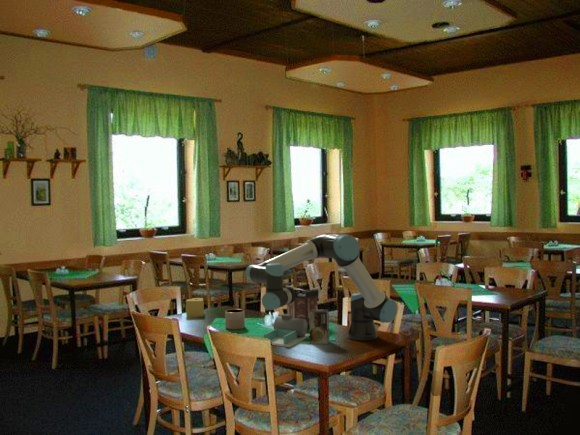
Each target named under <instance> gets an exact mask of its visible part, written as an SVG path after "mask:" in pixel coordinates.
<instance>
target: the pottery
mask: <svg viewBox="0 0 580 435" xmlns="http://www.w3.org/2000/svg"><path fill="white" fill-rule="evenodd" d="M298 292H299V293H300V291H298ZM318 296H319V295H318ZM318 296H316V297H314V296H312V297H306V298H302V297H300V298H296V299H295V301H294V302H292V303H290V304H287V305H286V314H292V318H298V319H305V320H306V321H307V329H308V327H309V328H310V322H309V312H310V311H311V309H318Z"/></svg>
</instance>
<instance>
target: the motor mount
mask: <svg viewBox="0 0 580 435" xmlns="http://www.w3.org/2000/svg"><path fill="white" fill-rule="evenodd" d="M271 327H272V328H273V329H272V330H269V331H268V332H266V333H264V334H263V339H264V338H268V339H270V340H271V342H272V345H271V346H275V347H277V346H278V347H286V348H291V347H294V346H295V345H297V344H298V343H300V342H303V341H304V340H306V339H308V338H310V337H309V336H310V333H307V332H308V328H307V321H306V320H305V319H298V318H292V314H287V313H284V314H281V316H277V317H276V318H275V319H274V322H272V323H271Z"/></svg>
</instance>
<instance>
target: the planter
mask: <svg viewBox="0 0 580 435" xmlns="http://www.w3.org/2000/svg"><path fill="white" fill-rule="evenodd" d="M224 313H225V314H224V319H225V323H224V326H225V327H224V328H225V329H227V330H230V331H231V330H232V331H236V330H242V329H244V328H246V321H245V320H246V318H245V317H246V315H245V309H243V308H228V309H226V310H224Z"/></svg>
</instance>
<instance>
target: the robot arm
mask: <svg viewBox="0 0 580 435" xmlns="http://www.w3.org/2000/svg"><path fill="white" fill-rule="evenodd" d="M319 258H331V259H333V260H334V261H335V263H336V265H337V266H338V267H339V268H343V269H344V270H345V272H346V273H347V275H348V276H349V277H348V278H350V280H351V282H353V284H354V286H355V287H356V289H357V290H358V292H355V293H352V294H351V296H350V324H349V327H348V330H347V338H348V339H350V340H353V341H360V342H361V341H363V342H364V341H373V340H375V339H378V331H377V328H376V326H375V321H376V322H380V323H386V324H387V323H388V324H389V323H391V322H392V321H394V319H395V318H396V317H397V313H398V304H397V302H396V300H394V299H392V298H389V297H388V296H387V294H386V293H385V292H384V291H383V290H381V289H379V287H378V286H377V284H376V283H375V281H374V280H373V278H372V276H371V274H370V273H369V271H368V270H367V268H366V267H365V265H364V264H363V262H362V261H361V259H360V244H359V242H358V240H357V238H356V237H354V236H352V235H351V234H346V233H330V232H327V233H322V234H319V235H316V236H315V237H312V238H310V239H308V240H306V241H304V242H303V244H302V245H299V246H297V247H295V248H292V249H290V250H288V251H286V252H284V253H282V254H280V255H277V256H275V257H272V258H270V259H268V260H266V261H263V262H260V263H258V264H249V265H248V266H247V267H246V269H245V277H246V279H247V280H249V281H251V282H253V283H259V284H265V293H264V295H263V296H262V297H261V305H262V306H263V308H265V309H266V310H267V311H274V310H277V309H279V308H284V307H285V306H287V304H290V303H292V302H294V301H295V299H296V298H300V297H302V298H306V297H312V296H314V297H316V296H319V294H320V286H317V287H313V288H312V289H305V290H304V289H295V285H294V284H291V285H289V286H286V285H284V272H285V271H287V270H289V269H291V268H293V267H296V266H298V265H300V264H303V263H304V262H306V261H309V260H316V259H319ZM298 291H300V293H299V292H298Z"/></svg>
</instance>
